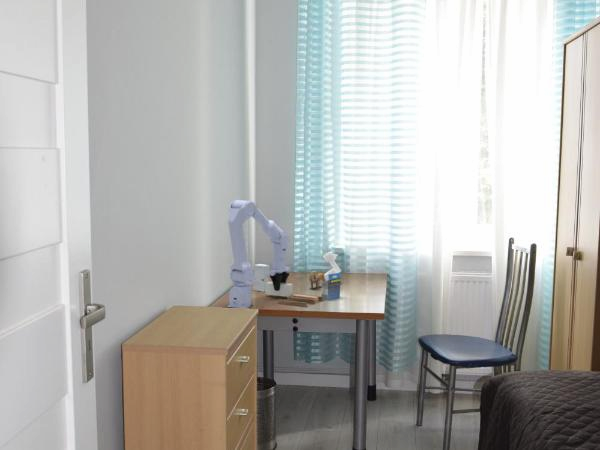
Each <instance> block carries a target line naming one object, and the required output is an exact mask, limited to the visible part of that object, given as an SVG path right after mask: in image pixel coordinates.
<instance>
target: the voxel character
mask: <svg viewBox="0 0 600 450" xmlns="http://www.w3.org/2000/svg"><path fill="white" fill-rule="evenodd" d="M338 256H339V254H338V253H337V254H336V253H333V251H331V252H330V251H328V252H327V253H325V254H324V255H322V258H323V260H324V261H326V262H328V264H329V265H330V266H331V267H332V268H331V269H329V270H328V271H326V273H323V274H324V276H325V281H328V280H329V279H328V274H334V273H339V272H340V273H341V272H342V269H341V268H340V267H339V265H338V263H336V260H337V257H338ZM335 277H337V276H335V275H334V276H333V278H335ZM341 281H342V280H341V279H340V283H341Z"/></svg>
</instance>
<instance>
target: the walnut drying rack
mask: <svg viewBox="0 0 600 450" xmlns="http://www.w3.org/2000/svg"><path fill="white" fill-rule="evenodd" d="M298 294H299V295H305V294H302V293H298ZM307 295H308V296H313V295H312V294H311V295H310V294H307ZM315 296H316V297H318V302H315V300H313V299H305V298H297V297H292V296H290V297H287V296H286V299H278V300H277V303H276V304H277V305H283V306H291V307H299V308H308V307H311V306H314V305H317V304H320V303H322V302H324V301H326V300H324V297H321V296H319V295H315Z"/></svg>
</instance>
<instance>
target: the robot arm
mask: <svg viewBox="0 0 600 450" xmlns="http://www.w3.org/2000/svg"><path fill="white" fill-rule="evenodd" d="M228 210H229V215H228V220H227V221H228V223H227V224H228V229H229V237H230V243H231V248H232V249H231V251H232V256H233V263H232V265H230V272H229V273H230V274H229V275H230V276H229V279H230V280H231V282H232V284H233V287H230V290H229V292H228V300H229V301H228V302H229V303H228V305H227V308H231V309H232V308H233V309H240V308H245V309H248V308H251V307H254V304H252V286H253V285H254V281H255V273H254V268H253V266H252V264H251V263H250V262H249V261H248V254H247V249H246V248H247V247H246V241H245V234H244V228H243V227H244V226H243V225H244V224H245V222H246V221H247V220H248V219H249V220H250V218H252V219H254V221H256V222H257V223H258V224H259V225H260V226H262V227H261V228H262V231H263V232H264V233H265V234H266V235H267V236H268V237H269V239H270V242H271V243H272V244H273V246H272V247H273V254H272V257H273V259H272V269H269V279H270V280H271V282H273V286H274V290H275V291H279V290H280V283H287V280H288V278H289V276H290V272H291V267H290V266H287V253H288V252H287V249H288V247H289V246H288V245H289V242H290V241H291V238H290V236H289V234H288V233H287V232H286V231H283V229H282V228H281V227H279V226H278V225H277V224H276V221H275V220H272V219H267V217H266V216H265V215H264V213H262V211H261V210H260V209H259V208H258V204H256V203H255V202H254V201H252V200H242V199H234V200H232V201H231V203H230V204H229V206H228Z"/></svg>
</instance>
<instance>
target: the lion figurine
mask: <svg viewBox="0 0 600 450" xmlns="http://www.w3.org/2000/svg"><path fill="white" fill-rule="evenodd" d="M324 274H325V273H322V272H320V273H319V272H318V271H316V270H312V271H310V274H309V281H310V286H311V287H310V288H309V289H311V290H314V284H315V290H319V286H320V284H321V280H322V282H325V281H326V280H325V276H324Z"/></svg>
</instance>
